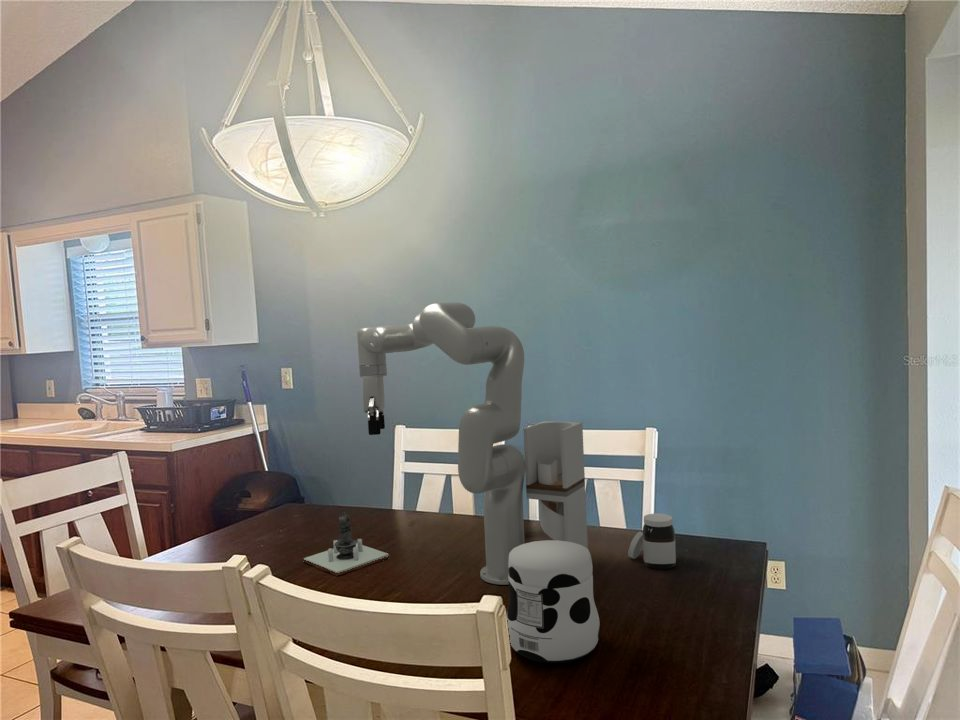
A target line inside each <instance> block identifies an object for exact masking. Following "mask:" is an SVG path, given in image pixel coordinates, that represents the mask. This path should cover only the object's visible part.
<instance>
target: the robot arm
mask: <svg viewBox="0 0 960 720" xmlns="http://www.w3.org/2000/svg"><path fill="white" fill-rule="evenodd" d="M475 323H476V315H475V313H474V310H473V309H472V308H471V307H470V306H468V305H467V304H465V303H461V302H435V303H434V302H433V303H430V304H428V305H427V306H425V308H423V309H422V311H421V312H419V313H418V314H417V315H416V316H415V317H414V318H413V321H412V323H407V324H392V325H390V324H389V325H378V326H369V327H368V326H367V327H361V328H359V329H358V330H357V335H356V337H357V339H356V340H357V353H358V365H359V366H358V367H359V378H363V379H362V401H363V413H365V414H366V413H367V426H368V428H367V429H368V430H367V431H368V435H369V436H374V435H376V436H377V435H381V430H384V429H385V428H386V426H385V425H386V424H385V423H386V422H385V415H384V408H385V404H386V403H385V383H384V377H386V376H388V371H387V370H388V369H387V368H388V367H387V356H386V355H387V354H393V353H403V352H404V353H406V352H412V351H416V350H419V349H423V348H427V347H430V346H431V345H433V344H434V345H435V346H436V347H437V348H438V349H440V350H441V351H442V352H443V353H445V355H447V357H449V358H450V359H451V360H453V361H454V362H456V363H458V364H460V365H465V366H470V365H471V366H472V365H477V364H485V363H492V366H491V368H490V370H489V373H488V375H487V378H486V382H485V398H484V402H483V403H480V404H477V405H472V406H471V407H469V408H468V409H467V410H465V412H463V414H462V415H461V418H460V421H459V426H458V441H457V442H458V446H457V451H458V452H457V471H458V478H459V481H460V484H461V486H462V487H463V488H464V489H465V490H466V491H467V492H469V493H471V494H477V495H478V494H483V493H484V495H483V504H482V505H483V507H482V508H483V524H484V525H483V527H484V528H483V529H484V546H485V547H484V548H485V563H486V564H485V566H483V567H481V569H480V573H479V574H480V579H482V580H483V581H484V582H486V583H488V584H492V585H501V586H502V585H503V586H504V585H506V586H509V581H508V576H509V566H508V562H509V553H510V552H511V551H512V550H513V548H515V547H517V546H520V545H522V544H526V543H525V542H526V541H525V526H524V524H525V523H524V496H523V495H524V494H523V493H524V481H525V476H526V474H525V456H524V454H522V451H520V450H519V448H517V447H516V446H514V445H511V444H507V443H505V444H503V443H502V442H505V441H508V440H511V439H513V438H515V437H516V436H517V435H518V433H519V432H520V429H521V421H522V420H521V419H522V400H523V399H522V395H523V394H522V392H523V390H522V389H523V388H522V387H523V375H524V370H525V369H524V367H525V351H524V346H523V344H522V342H521V340H520V338H519V337H518V336H517V334H515V333H514V332H513V331H512V330H510V329H508V328H505V327H501V326H493V325H491V326H478V327H475ZM497 443H502V444H497ZM494 444H497V445H494Z"/></svg>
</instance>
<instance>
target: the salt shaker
mask: <svg viewBox="0 0 960 720" xmlns="http://www.w3.org/2000/svg"><path fill="white" fill-rule="evenodd" d="M338 525H339V526H338V528H337V531H339V538H338V542H336V543H335V546H336V549H337V551H338V552H339V553H340V554H339V555H337V557H336V558H337V559H340V560H347V559H352V558H354V555H353V548H354V547H356V543H358V541H357V539H353V538H352V529H353V528H352V527H351V518H350V516H349V515H348V514H346V512H345V511H343V512H342V515H340V516H339V517H338Z"/></svg>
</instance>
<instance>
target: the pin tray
mask: <svg viewBox="0 0 960 720" xmlns="http://www.w3.org/2000/svg"><path fill="white" fill-rule="evenodd" d="M338 541H339V539H334V540H333V542H332V543H333V548H331V547H330V548H328V549H327V550H325V551H322V552H318V553H315V554H313V555H310V556H309V555H308V556H306V557H304V558H303V559H304V560H306V561H309V562H311V563H313V564H316V565H319V566H321V567H324V568H326V569H328V570H330V571H333V572H335V573H340V572H343V571H347V570H350V569H352V568H355V567H358V566H361V565H364V564H367V563H370V562H372V561H375V560H378V559H382V558H384V557H388V556H389V557H390V555H389V554H390V553H387V552H384V551H381V550H378V549H375V548H372V547H370V546H366V545H363V539H362V538H357V539H356V541H357V543H356V547H354V548H353V555H354V558H352V559H347V560H340V559H337V558H336V557H337V555H339V554H340V553H339V552H338V551H337V549H336V546H335V543H336V542H338Z"/></svg>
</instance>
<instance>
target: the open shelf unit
mask: <svg viewBox="0 0 960 720" xmlns="http://www.w3.org/2000/svg"><path fill="white" fill-rule="evenodd" d="M583 428H584V427H583V422H576V421H575V422H573V421H548V420H543V421H540V422H538V423H535V424H532V425H529V426H525V427H524V428H523V429H522V430H523V444H524V445H523V450H524V451H523V452H524V461H525V491H526V493H525V494H526V499H529V500H530V499H531V500H538V503H539V521H540V522H539V524H540V527H541V529H542V531H543V532H544V534H546V535H547V536H548V537H549V538H550V539H551V540H559V541H567V542H573V543H576V544H579V545H582V546H584V547H585V548H587V549H588V550H589V545H588V525H587V523H588V522H587V520H588V519H587V502H586V501H587V499H586V496H587V495H586V480H585V479H586V477H585V474H586V473H585V452H584V432H583Z"/></svg>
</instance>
